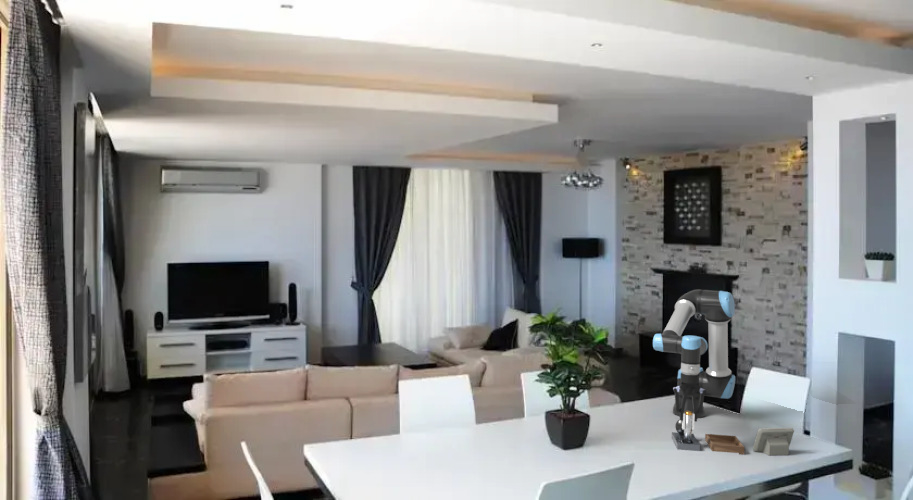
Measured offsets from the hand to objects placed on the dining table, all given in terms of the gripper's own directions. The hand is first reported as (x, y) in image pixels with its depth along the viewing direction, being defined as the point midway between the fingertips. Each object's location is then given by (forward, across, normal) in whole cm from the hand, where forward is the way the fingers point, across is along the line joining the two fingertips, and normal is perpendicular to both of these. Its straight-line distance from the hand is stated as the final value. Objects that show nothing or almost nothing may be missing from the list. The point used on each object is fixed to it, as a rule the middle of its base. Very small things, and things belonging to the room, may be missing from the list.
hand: (687, 428), depth 299 cm
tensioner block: (+9, 0, +4) cm, 10 cm away
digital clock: (+9, +35, +4) cm, 36 cm away
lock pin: (+6, 0, 0) cm, 6 cm away
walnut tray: (+9, +16, +5) cm, 19 cm away
